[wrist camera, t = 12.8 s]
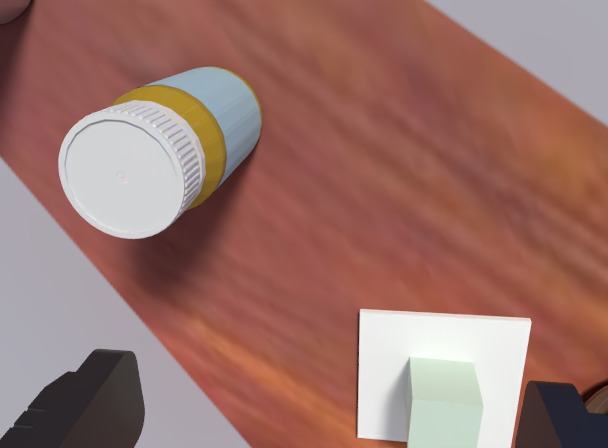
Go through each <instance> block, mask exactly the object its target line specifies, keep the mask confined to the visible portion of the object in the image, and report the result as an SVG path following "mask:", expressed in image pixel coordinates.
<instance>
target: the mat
mask: <svg viewBox="0 0 608 448" xmlns="http://www.w3.org/2000/svg"><path fill="white" fill-rule="evenodd" d="M530 328H531V320H530V318H516V317H498V316H480V315H461V314H443V313H425V312H406V311H388V310H370V309H360V334H359V389H358V438H369V439H380V440H391V441H402V442H407V434H406V413H405V401H406V391H407V381H408V370H409V360H410V357H419V358H430V359H441V360H452V361H464V362H473V364H474V368H475V372H476V376H477V380H478V384H479V388H480V392H481V396H482V401H483V405H484V408H483V414H482V420H481V425H480V431H479V437H478V443H477V448H511V442H512V436H513V430H514V424H515V418H516V412H517V406H518V400H519V394H520V388H521V382H522V376H523V370H524V364H525V358H526V352H527V346H528V340H529V334H530Z"/></svg>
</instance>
